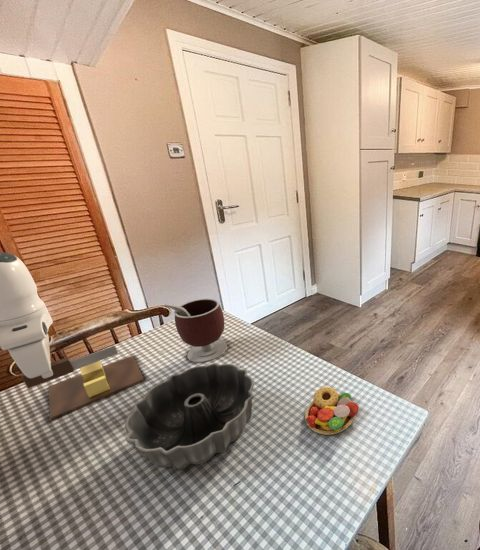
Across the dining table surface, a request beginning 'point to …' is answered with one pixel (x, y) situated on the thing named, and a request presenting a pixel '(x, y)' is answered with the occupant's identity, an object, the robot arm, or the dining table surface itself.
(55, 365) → the knife
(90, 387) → the butter pat
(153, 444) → the bundt pan
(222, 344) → the mate gourd
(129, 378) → the butter board
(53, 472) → the dining table surface
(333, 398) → the toy food set
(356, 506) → the dining table surface
